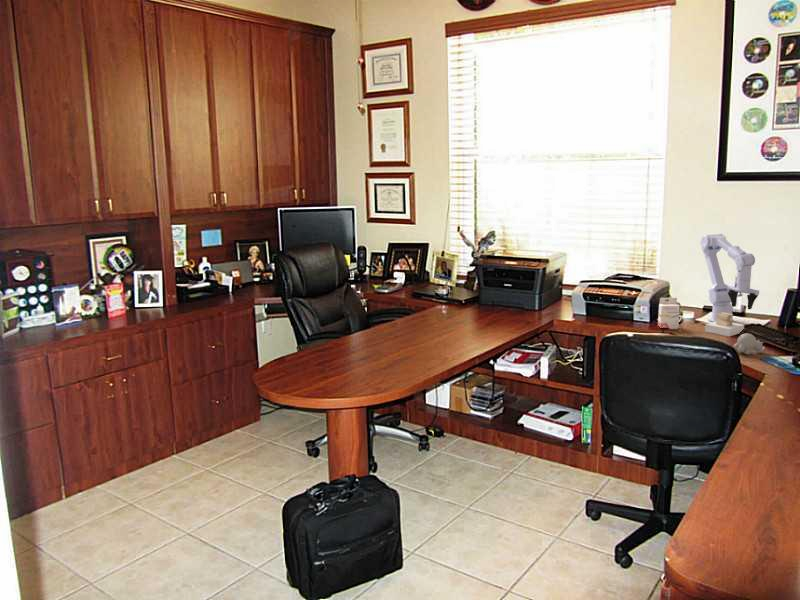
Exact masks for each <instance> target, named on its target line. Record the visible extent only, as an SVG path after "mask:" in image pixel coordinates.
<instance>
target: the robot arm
mask: <svg viewBox="0 0 800 600" xmlns="http://www.w3.org/2000/svg"><path fill="white" fill-rule="evenodd" d="M700 246H701V250H702V253H703V254H704V259H705V262H706V266H707V270H708V274H709V277H710V281H711V285H712V286H711V287H710V289H709V290H708V293H709V297H708V298H709V301H710V303H711V304H712V309H711V310H712V312H711V313H712V314H711V318H710V319H707V321H708V322H711V323H712V322H715V321H716V319H717V314H719V313H722V312H724V313H729V314H733V307H734V308H735V307H737V302H738V301H737V298H738V294H739V293H742V294H747V296H746V297H747V310H752V308H753V305H754V303H755V301H756V300H757V298H758V296H759V295H760V289H759V290H757V289H753V288H751V278H752V266H754V265H755V263H756V258H755V256H754V254H753V253H747V252H746V251H744V250H743V249H742V248H740V246H739V245H732V243H730V242H729V241H728V240H727V237H726V235H724V234H723V233H716V234H715V233H714V234H704V235H702V237H701V240H700ZM721 249H723V250H724V251H726V252H727V255H728V257H730V258H731V259H732V260H733V261H735V266H736V270H737V271H736V272H737V273H736V275H737V276H736V286H729V285H727V284H726V283H725V281H724V277H723V275H722V274H723V273H722V270H721V266H720V263H719V260H718V259H719V258H718V256H717V254H718V252H720V251H721Z"/></svg>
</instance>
